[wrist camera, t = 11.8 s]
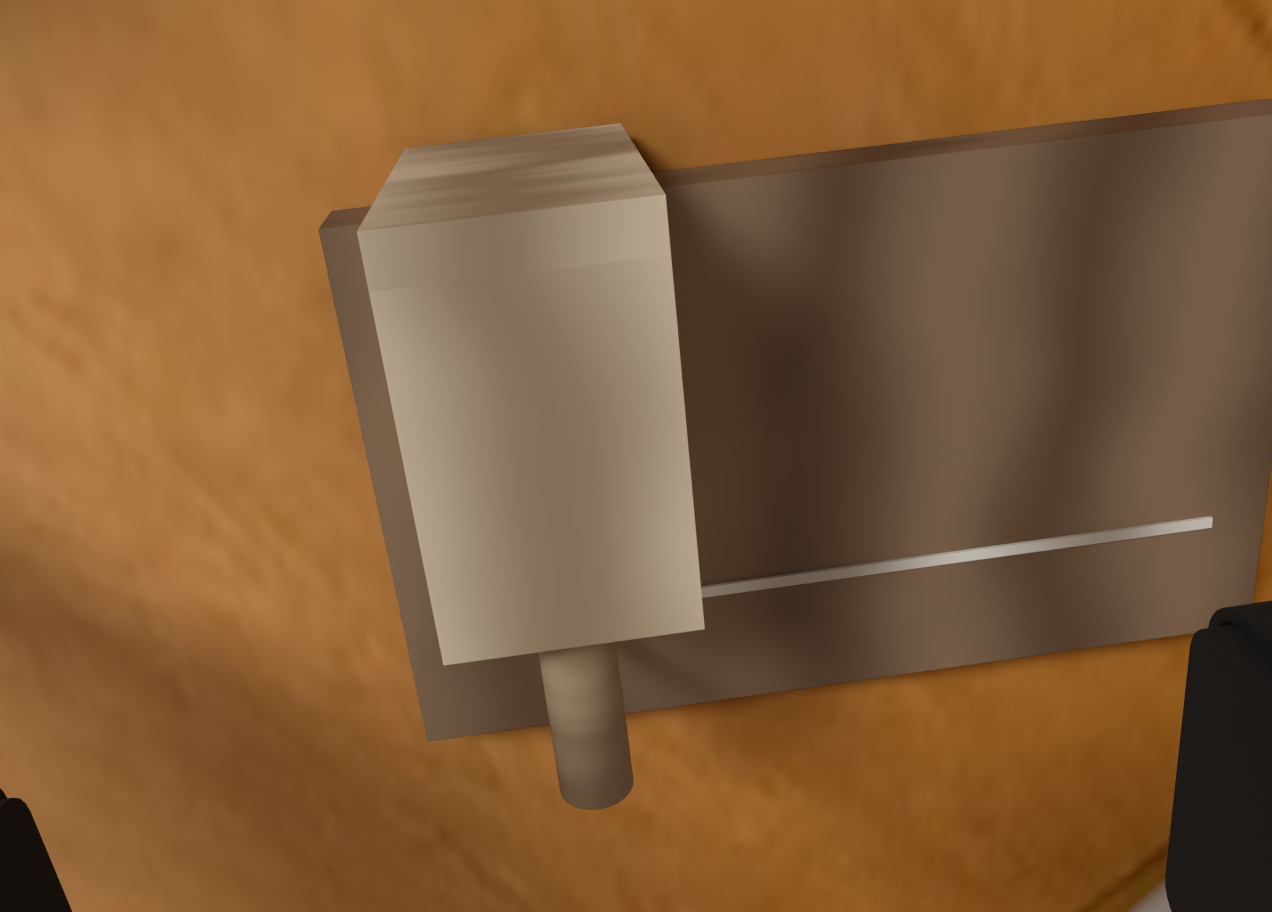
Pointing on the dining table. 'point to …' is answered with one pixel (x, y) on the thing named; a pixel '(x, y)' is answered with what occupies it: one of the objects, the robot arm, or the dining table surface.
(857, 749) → the dining table surface
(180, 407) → the dining table surface
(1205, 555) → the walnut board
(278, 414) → the dining table surface
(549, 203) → the block
